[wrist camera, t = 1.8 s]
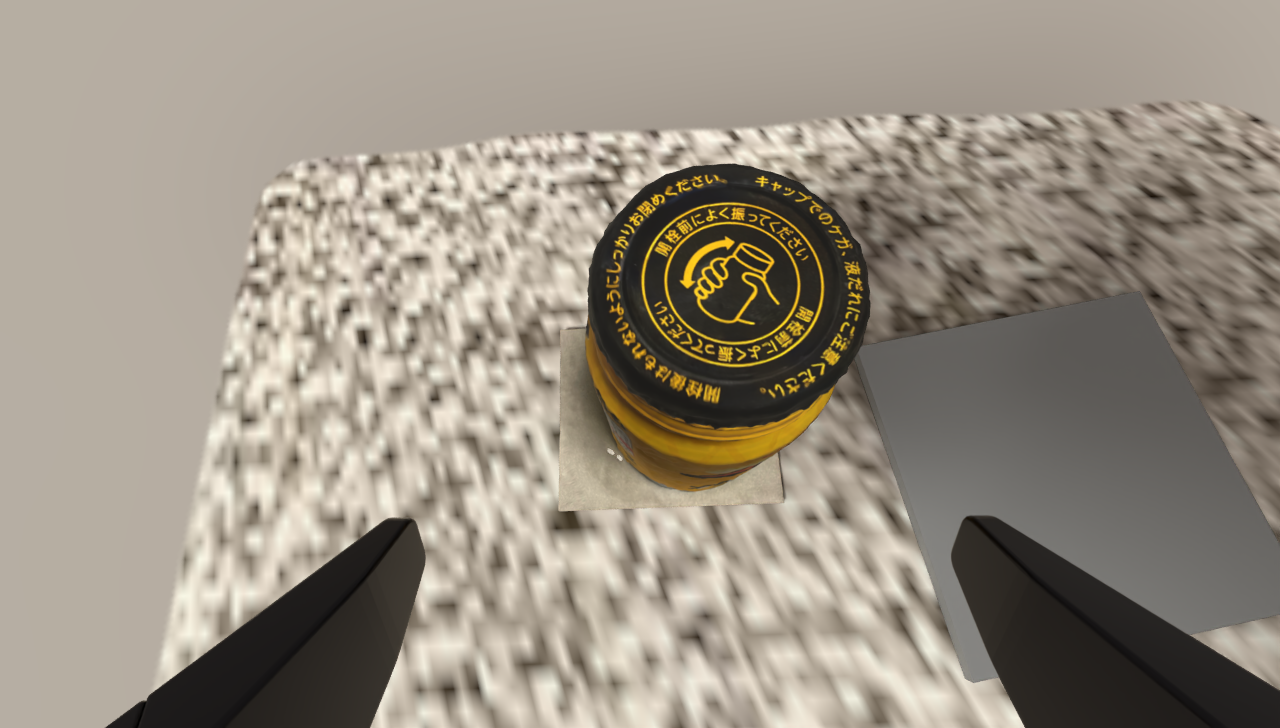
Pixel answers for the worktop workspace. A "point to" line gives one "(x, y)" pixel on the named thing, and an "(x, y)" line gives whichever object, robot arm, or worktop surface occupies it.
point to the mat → (1072, 462)
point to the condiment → (706, 341)
